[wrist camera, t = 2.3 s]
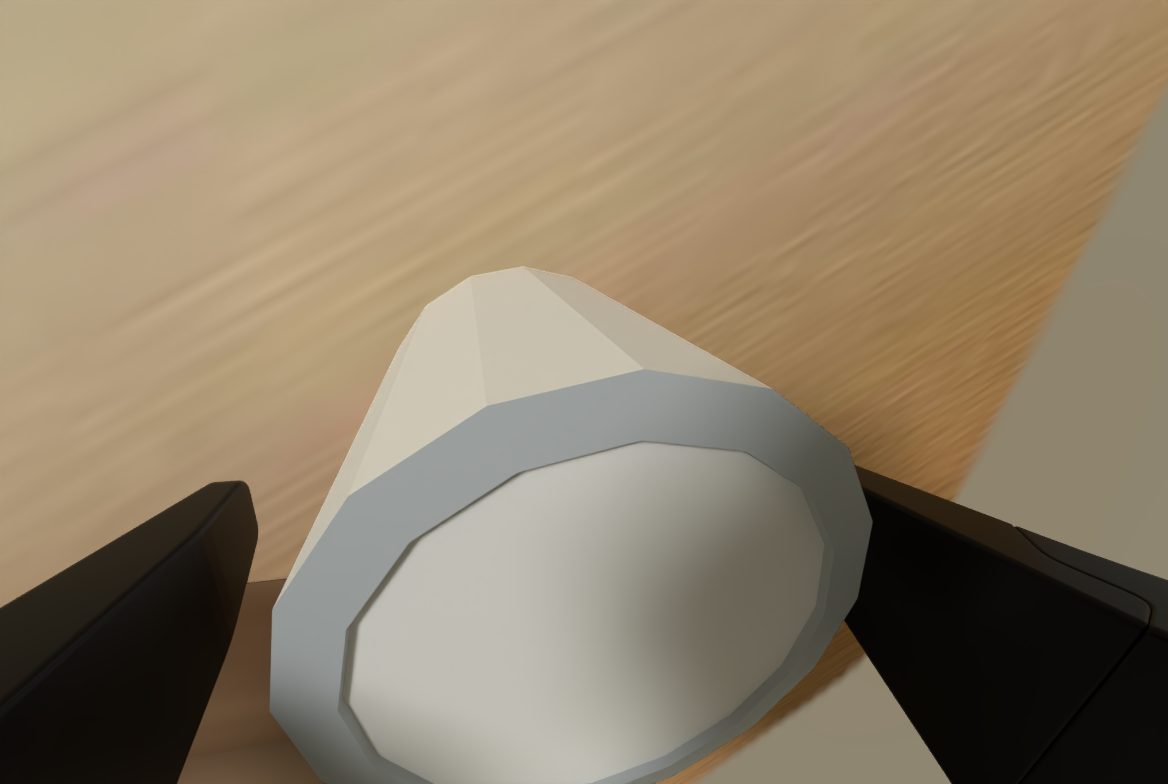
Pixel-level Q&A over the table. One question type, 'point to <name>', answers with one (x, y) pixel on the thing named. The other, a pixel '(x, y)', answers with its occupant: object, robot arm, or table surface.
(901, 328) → the table surface
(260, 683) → the stepped riser
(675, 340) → the white tapered cup
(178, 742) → the robot arm
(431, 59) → the table surface
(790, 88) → the table surface
